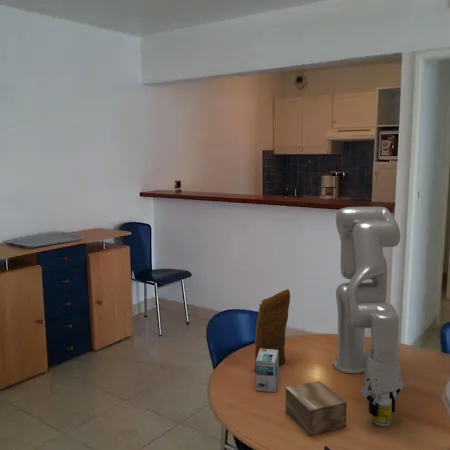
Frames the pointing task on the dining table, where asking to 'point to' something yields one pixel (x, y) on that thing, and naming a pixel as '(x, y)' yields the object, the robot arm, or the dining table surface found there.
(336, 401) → the lid
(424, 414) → the dining table surface
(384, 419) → the supplement bottle
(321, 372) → the dining table surface
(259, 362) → the light bulb box
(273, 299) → the pancake mix bag
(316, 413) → the wooden box
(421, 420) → the dining table surface
